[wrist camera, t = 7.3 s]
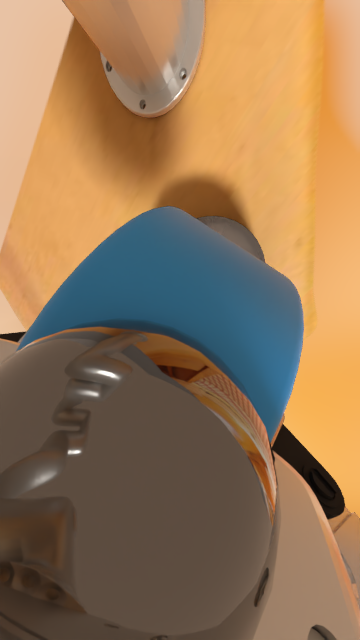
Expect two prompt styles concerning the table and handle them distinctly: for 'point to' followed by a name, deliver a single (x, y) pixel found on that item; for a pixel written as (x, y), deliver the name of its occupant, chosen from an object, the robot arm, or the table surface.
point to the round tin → (235, 234)
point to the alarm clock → (147, 441)
